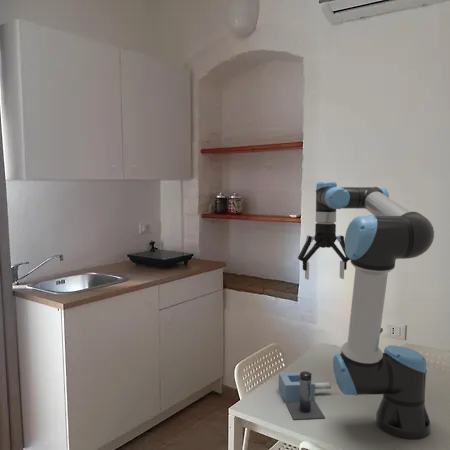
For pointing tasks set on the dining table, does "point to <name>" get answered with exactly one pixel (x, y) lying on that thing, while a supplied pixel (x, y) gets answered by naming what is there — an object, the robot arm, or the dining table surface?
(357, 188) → the robot arm
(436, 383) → the dining table surface
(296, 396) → the block
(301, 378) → the bottle
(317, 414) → the mat
